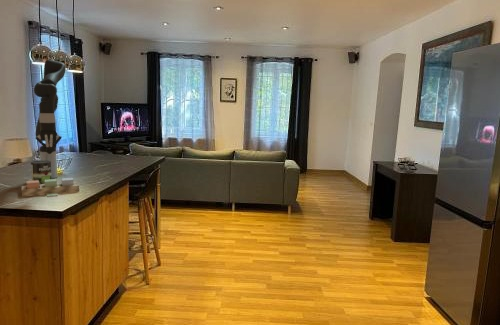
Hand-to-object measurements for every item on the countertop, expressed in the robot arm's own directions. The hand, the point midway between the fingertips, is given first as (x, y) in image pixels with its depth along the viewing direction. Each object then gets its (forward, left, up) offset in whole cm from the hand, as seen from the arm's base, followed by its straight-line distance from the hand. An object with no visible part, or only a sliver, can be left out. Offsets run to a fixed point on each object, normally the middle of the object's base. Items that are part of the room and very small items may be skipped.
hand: (49, 153), depth 199 cm
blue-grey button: (+6, +6, -19) cm, 20 cm away
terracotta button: (-6, -6, -19) cm, 21 cm away
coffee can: (-16, +11, -22) cm, 29 cm away
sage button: (0, 0, -19) cm, 19 cm away
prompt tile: (+6, -6, -21) cm, 23 cm away
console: (0, 0, -21) cm, 21 cm away
